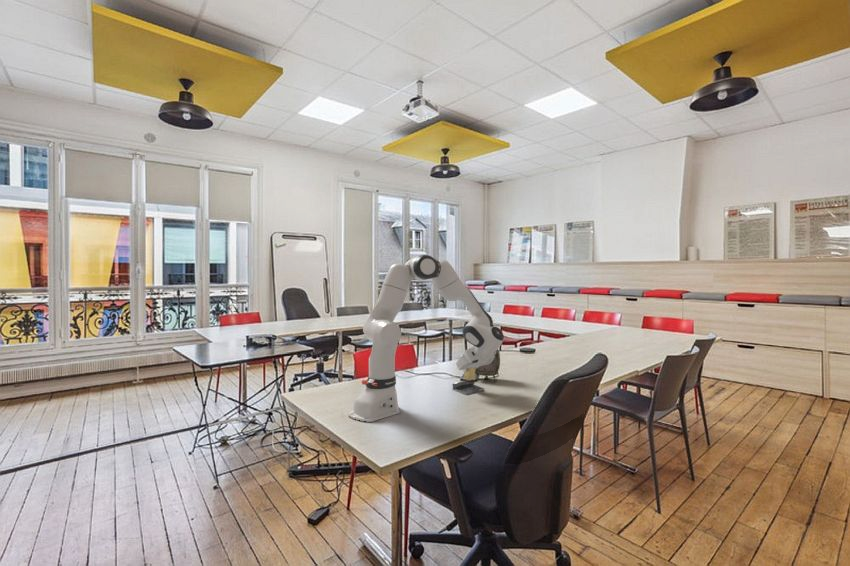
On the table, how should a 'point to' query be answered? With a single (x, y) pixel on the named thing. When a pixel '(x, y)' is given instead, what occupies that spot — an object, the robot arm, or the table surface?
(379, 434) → the table surface
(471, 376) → the tan wooden block
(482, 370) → the tabletop clock
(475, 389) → the fixed leaf
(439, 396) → the table surface
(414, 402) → the table surface
